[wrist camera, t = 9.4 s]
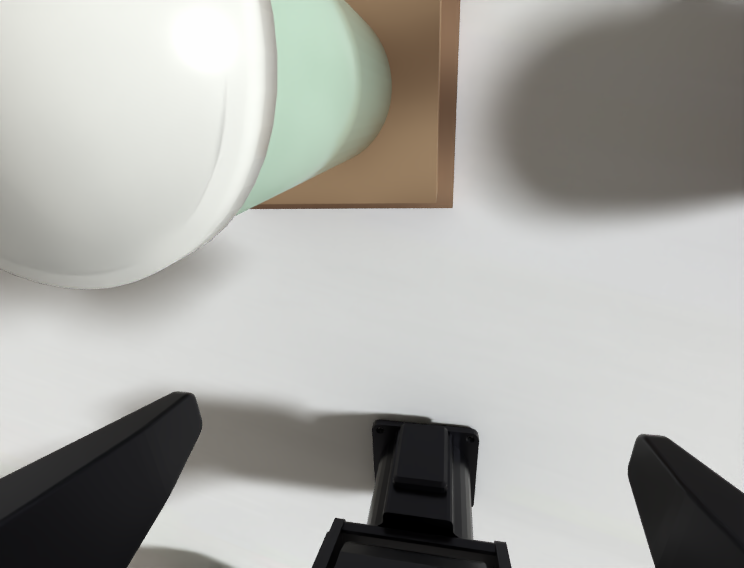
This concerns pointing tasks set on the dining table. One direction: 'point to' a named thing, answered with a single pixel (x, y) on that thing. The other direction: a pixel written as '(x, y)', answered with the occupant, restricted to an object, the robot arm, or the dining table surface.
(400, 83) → the pedestal
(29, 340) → the dining table surface
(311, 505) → the dining table surface
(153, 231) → the tumbler
